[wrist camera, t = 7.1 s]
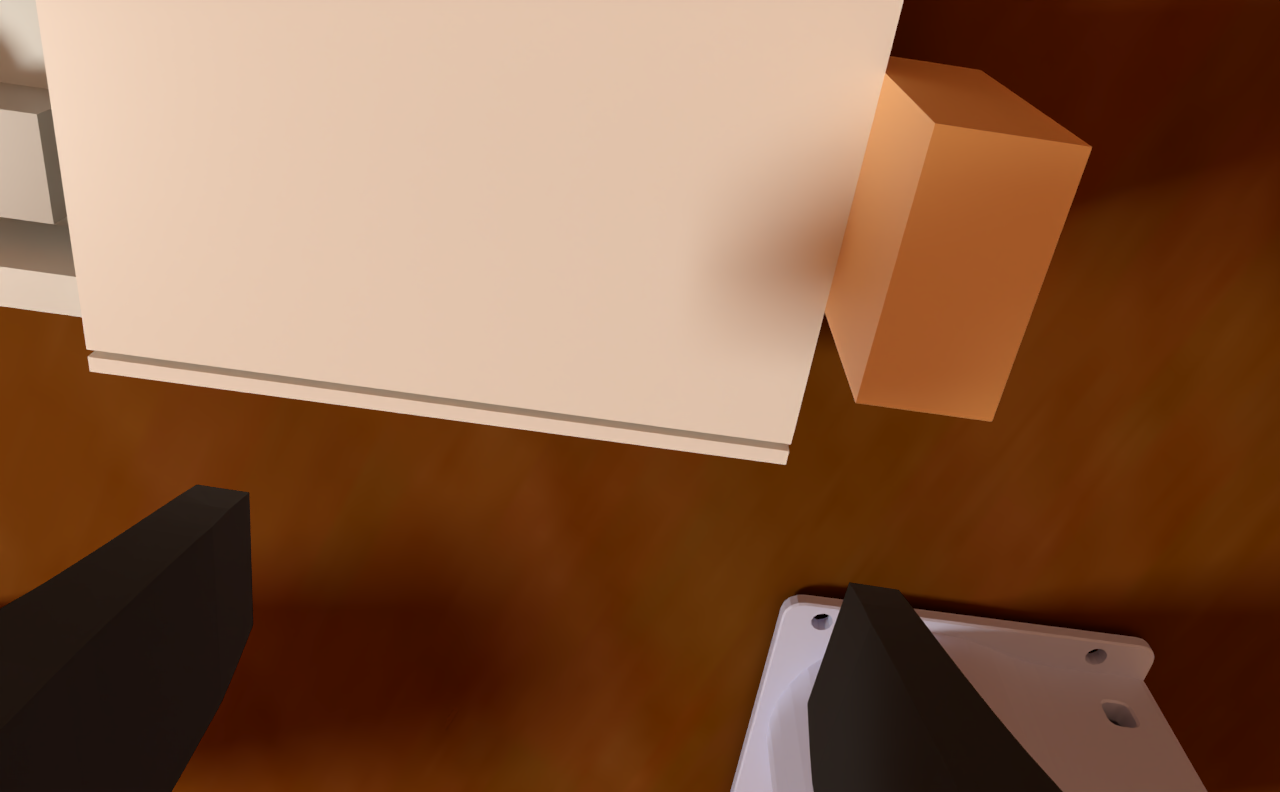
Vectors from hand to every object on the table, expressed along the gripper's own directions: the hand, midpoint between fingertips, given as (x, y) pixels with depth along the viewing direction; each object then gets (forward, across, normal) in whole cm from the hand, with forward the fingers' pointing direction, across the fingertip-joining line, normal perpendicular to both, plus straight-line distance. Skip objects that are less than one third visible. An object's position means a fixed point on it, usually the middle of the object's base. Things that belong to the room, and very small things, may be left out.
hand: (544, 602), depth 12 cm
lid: (+8, +2, -4) cm, 9 cm away
